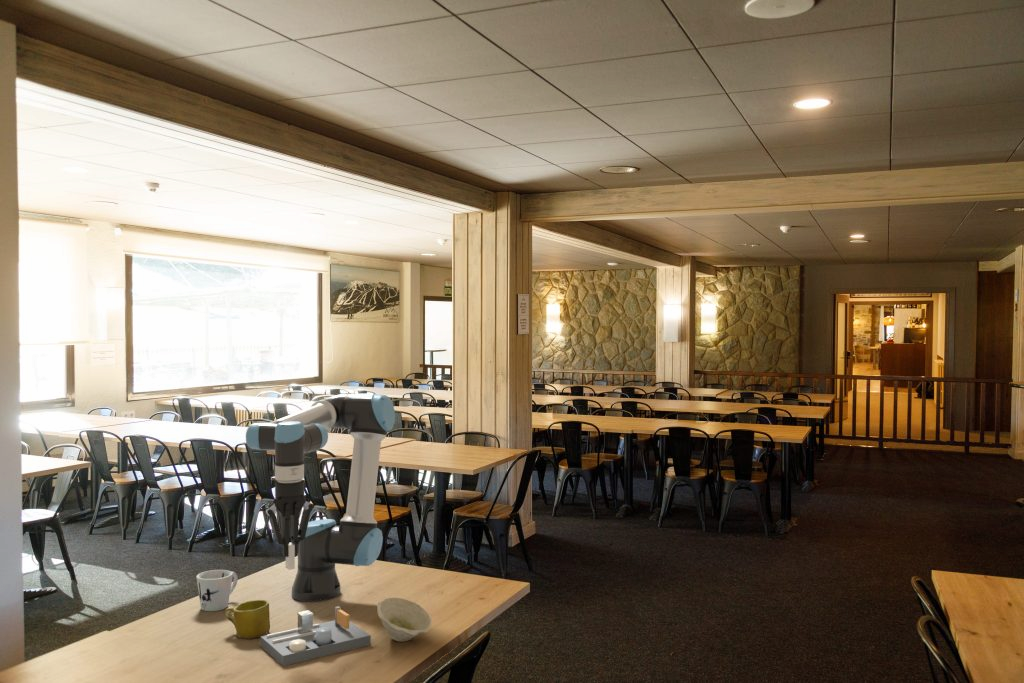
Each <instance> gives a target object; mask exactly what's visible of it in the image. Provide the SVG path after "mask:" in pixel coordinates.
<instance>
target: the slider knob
mask: <svg viewBox="0 0 1024 683" xmlns="http://www.w3.org/2000/svg"><path fill="white" fill-rule="evenodd" d="M313 625H314V613H313V612H312V611H310V610H303V611H298V612H297V628H298V632H299V633H300V634H302V633H307V632H312V631H313Z"/></svg>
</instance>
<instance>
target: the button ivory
mask: <svg viewBox="0 0 1024 683" xmlns="http://www.w3.org/2000/svg"><path fill="white" fill-rule="evenodd" d="M302 650H306V641H305V640H301V639H298V640H293V641H291V642H290V651H291V652H292V653H293V652H298V651H302Z"/></svg>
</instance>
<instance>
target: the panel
mask: <svg viewBox="0 0 1024 683" xmlns="http://www.w3.org/2000/svg"><path fill="white" fill-rule="evenodd" d="M323 627H328V628H331V629H332V642H331V644H327V645H323V646H319V645H316V630H317V629H318V628H323ZM298 639H301V640H305V641H306V650H302V651H298V652H293V653H292V652H291V651H290V642H291V641H293V640H298ZM371 640H372V636H371V634H369V633H368V632H367V631H365V630H364V629H362V628H360V627H359V626H357V625H356V624H355V623H353V622H351V621H350V620H349V629H345V628H344V627H342V626H341V625H339V626H336V625H335V619H334V620H331V621H327V622H326V621H325V622H321V623H315V624H314V623H313V631H312V632H307V633H302V634H300V633H299V632H298V627H296V628H292V629H288V630H283V631H279V632H273V633H267V634H265V635H263V636H260V647H261V648H262V649H263V650H265V651H266V652H267V654H269V655H270V656H271V657H272V658H273V659H275V661H277V662H278V663H279V664H280V665H281V666H282V667H285V666H288V665H292V664H296V663H300V662H305V661H309V660H314V659H317V658H321V657H325V656H329V655H334V654H338V653H341V652H342V653H343V652H347V651H350V650H353V649H359V648H363V647H366V646H370V645H372V644H371V642H372V641H371Z"/></svg>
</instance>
